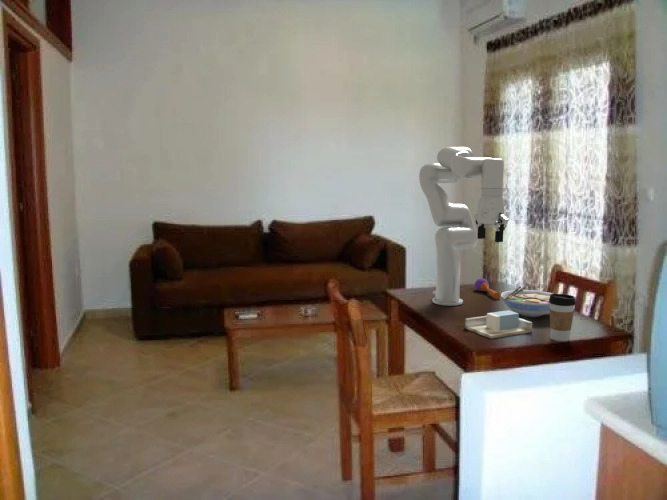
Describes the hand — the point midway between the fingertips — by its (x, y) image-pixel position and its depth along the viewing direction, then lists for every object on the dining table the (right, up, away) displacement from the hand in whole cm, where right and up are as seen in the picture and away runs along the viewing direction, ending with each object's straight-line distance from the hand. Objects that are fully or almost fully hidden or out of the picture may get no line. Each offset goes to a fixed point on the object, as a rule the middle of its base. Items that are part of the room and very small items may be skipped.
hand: (489, 240), depth 225 cm
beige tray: (+1, -32, -7) cm, 32 cm away
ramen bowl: (+19, -29, +14) cm, 37 cm away
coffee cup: (+19, -34, -17) cm, 42 cm away
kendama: (+11, -23, +49) cm, 55 cm away
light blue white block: (+3, -31, -7) cm, 32 cm away
